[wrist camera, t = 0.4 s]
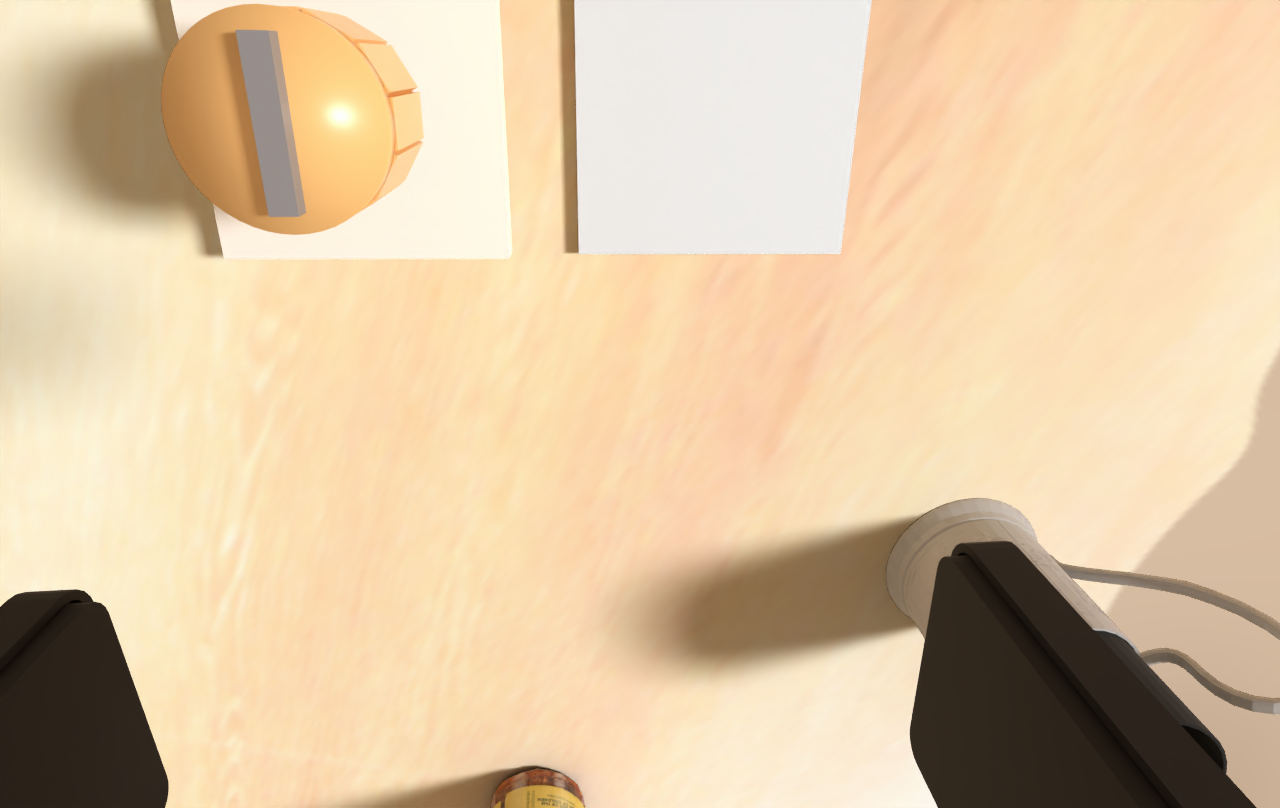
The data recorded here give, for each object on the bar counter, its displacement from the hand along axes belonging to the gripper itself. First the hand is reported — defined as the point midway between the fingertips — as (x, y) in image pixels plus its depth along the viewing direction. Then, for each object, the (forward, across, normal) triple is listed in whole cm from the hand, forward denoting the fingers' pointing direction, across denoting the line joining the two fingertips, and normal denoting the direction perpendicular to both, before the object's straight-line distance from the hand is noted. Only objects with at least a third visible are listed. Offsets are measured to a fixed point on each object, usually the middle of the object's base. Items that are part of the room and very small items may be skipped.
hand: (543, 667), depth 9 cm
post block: (+28, +8, -5) cm, 30 cm away
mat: (+28, -6, -5) cm, 29 cm away
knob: (+24, +8, -5) cm, 26 cm away
